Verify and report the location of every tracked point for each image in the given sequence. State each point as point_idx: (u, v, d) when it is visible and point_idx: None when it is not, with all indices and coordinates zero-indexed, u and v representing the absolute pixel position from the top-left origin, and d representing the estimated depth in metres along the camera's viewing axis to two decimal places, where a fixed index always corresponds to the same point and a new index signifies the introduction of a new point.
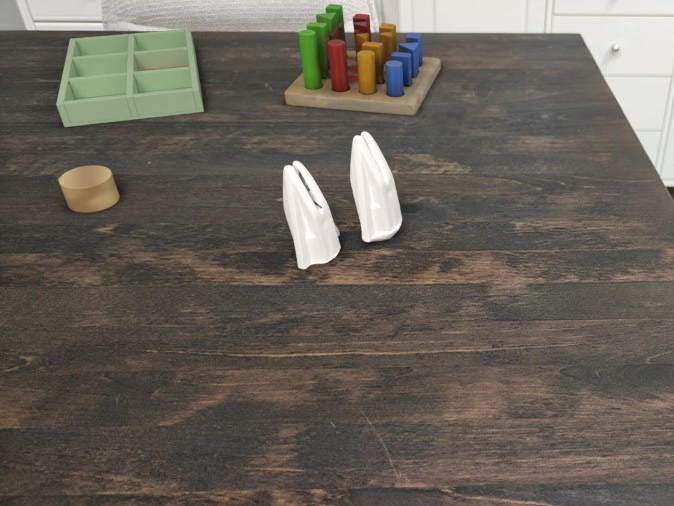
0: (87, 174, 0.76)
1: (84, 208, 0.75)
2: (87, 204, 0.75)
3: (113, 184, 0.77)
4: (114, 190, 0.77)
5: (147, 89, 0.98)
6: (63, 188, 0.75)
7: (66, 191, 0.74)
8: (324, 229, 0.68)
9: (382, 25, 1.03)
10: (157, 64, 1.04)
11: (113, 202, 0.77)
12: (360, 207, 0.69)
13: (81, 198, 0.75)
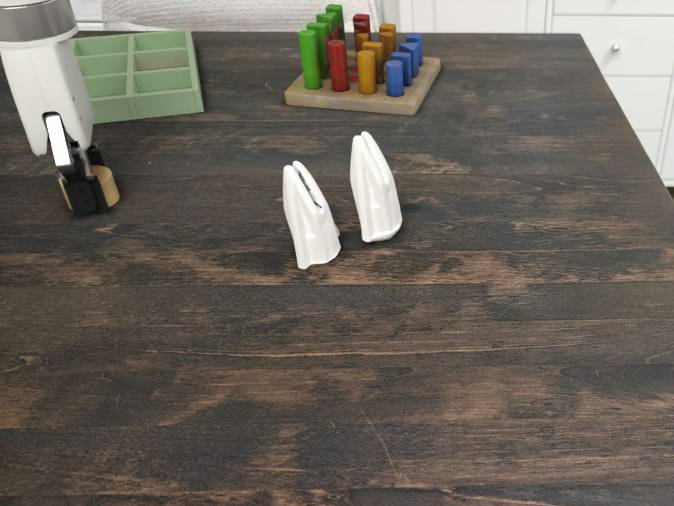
0: None
1: None
2: None
3: (113, 184, 0.77)
4: (114, 190, 0.77)
5: (147, 89, 0.98)
6: (63, 188, 0.75)
7: None
8: (324, 229, 0.68)
9: (382, 25, 1.03)
10: (157, 64, 1.04)
11: (113, 202, 0.77)
12: (360, 207, 0.69)
13: None
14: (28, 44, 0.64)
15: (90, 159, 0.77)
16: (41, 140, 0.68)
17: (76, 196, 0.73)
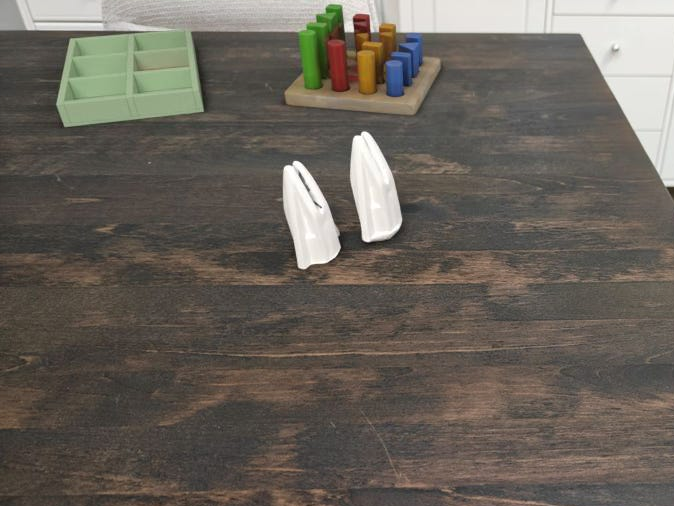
0: None
1: None
2: None
3: None
4: None
5: (147, 89, 0.98)
6: None
7: None
8: (324, 229, 0.68)
9: (382, 25, 1.03)
10: (157, 64, 1.04)
11: None
12: (360, 207, 0.69)
13: None
14: None
15: None
16: None
17: None
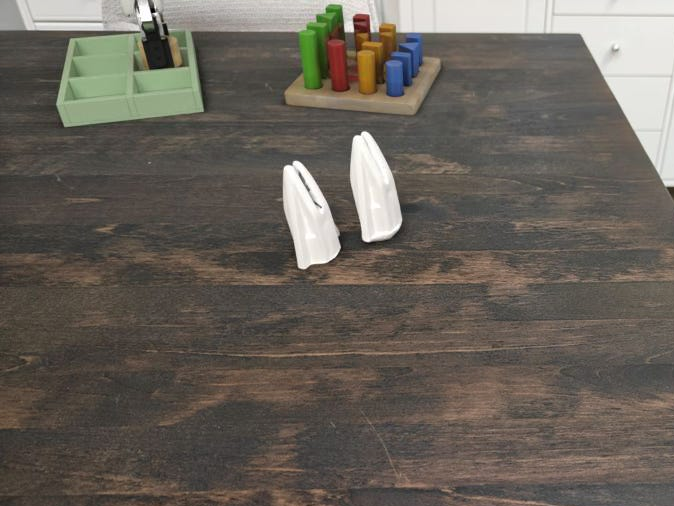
0: None
1: None
2: None
3: (178, 48, 1.00)
4: (178, 53, 1.00)
5: (147, 89, 0.98)
6: (141, 48, 0.98)
7: None
8: (324, 229, 0.68)
9: (382, 25, 1.03)
10: None
11: (178, 62, 1.00)
12: (360, 207, 0.69)
13: None
14: None
15: None
16: (130, 2, 0.91)
17: (152, 52, 0.96)
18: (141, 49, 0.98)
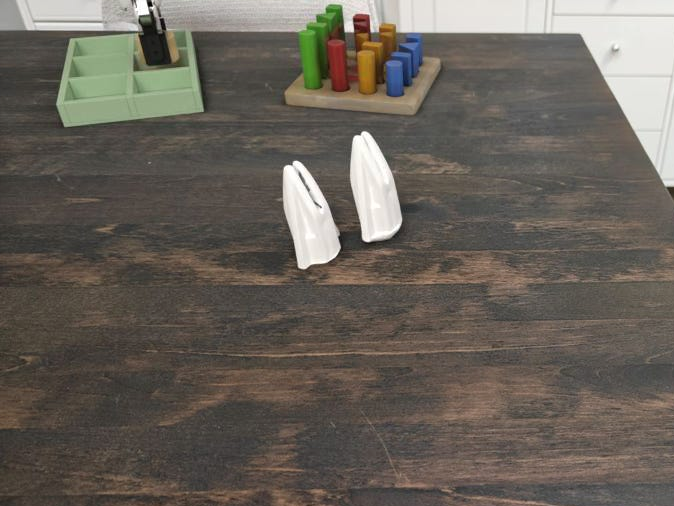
0: None
1: None
2: None
3: (175, 43, 0.99)
4: (175, 48, 0.99)
5: (147, 89, 0.98)
6: (138, 43, 0.97)
7: None
8: (324, 229, 0.68)
9: (382, 25, 1.03)
10: None
11: (175, 57, 0.99)
12: (360, 207, 0.69)
13: None
14: None
15: None
16: None
17: (149, 47, 0.95)
18: (138, 43, 0.97)
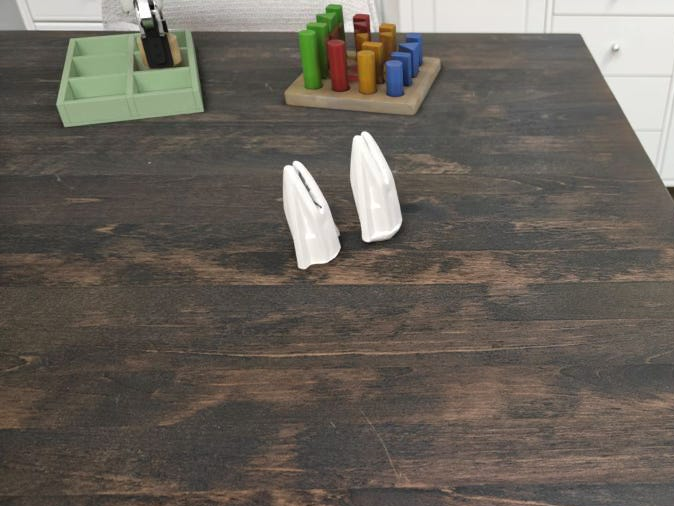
0: None
1: None
2: None
3: (177, 45, 0.99)
4: (178, 50, 1.00)
5: (147, 89, 0.98)
6: (140, 45, 0.97)
7: (143, 48, 0.97)
8: (324, 229, 0.68)
9: (382, 25, 1.03)
10: None
11: (177, 60, 1.00)
12: (360, 207, 0.69)
13: None
14: None
15: None
16: None
17: (151, 49, 0.96)
18: (140, 46, 0.97)
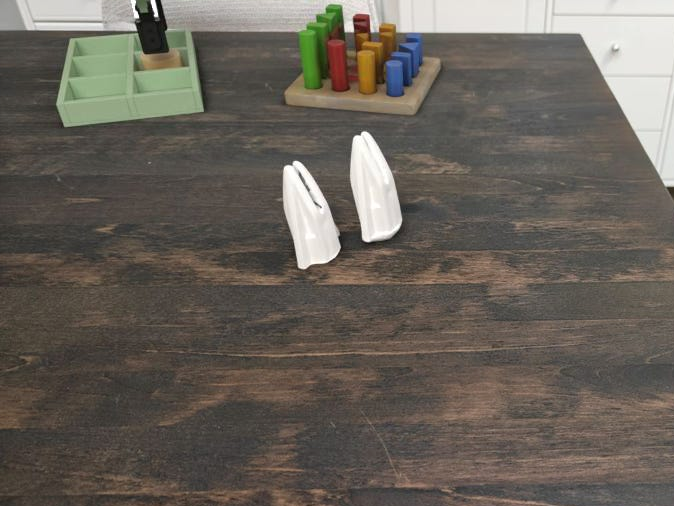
0: (161, 53, 1.00)
1: None
2: None
3: (180, 61, 1.01)
4: (180, 66, 1.01)
5: (147, 89, 0.98)
6: (144, 62, 0.99)
7: (146, 64, 0.99)
8: (324, 229, 0.68)
9: (382, 25, 1.03)
10: None
11: None
12: (360, 207, 0.69)
13: None
14: None
15: None
16: None
17: (145, 34, 0.93)
18: (144, 62, 0.99)
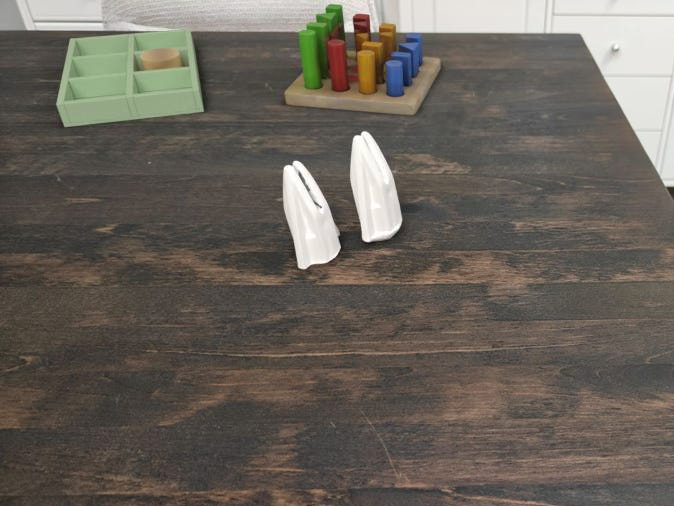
0: (161, 53, 1.00)
1: None
2: None
3: (180, 61, 1.01)
4: (180, 66, 1.01)
5: (147, 89, 0.98)
6: (144, 62, 0.99)
7: (146, 64, 0.99)
8: (324, 229, 0.68)
9: (382, 25, 1.03)
10: None
11: None
12: (360, 207, 0.69)
13: None
14: None
15: None
16: None
17: None
18: (144, 62, 0.99)
